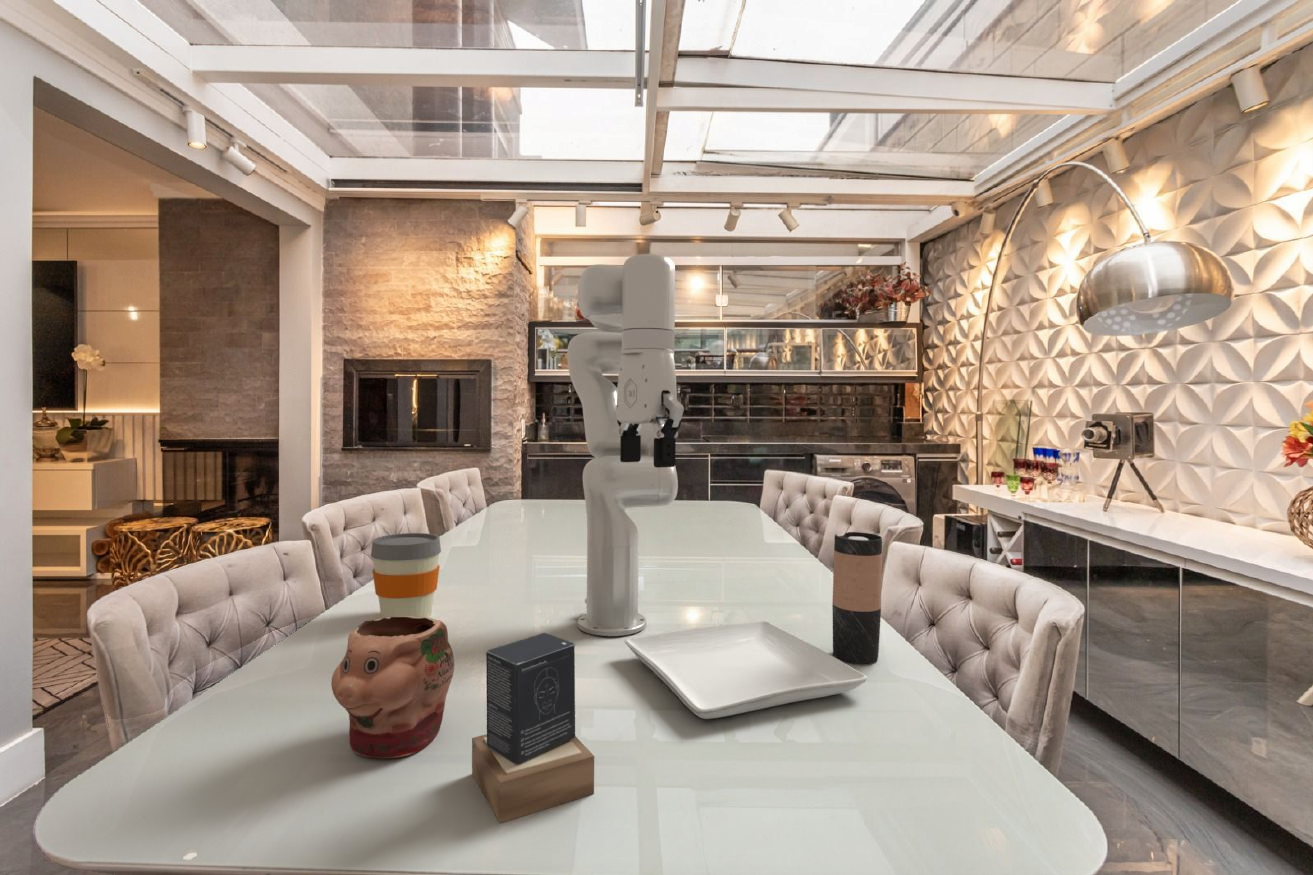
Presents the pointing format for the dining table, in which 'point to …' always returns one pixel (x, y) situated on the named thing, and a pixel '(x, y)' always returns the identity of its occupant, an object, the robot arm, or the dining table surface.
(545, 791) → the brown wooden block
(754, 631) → the square plate
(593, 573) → the robot arm
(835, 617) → the travel mug
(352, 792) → the dining table surface
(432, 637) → the decorative planter
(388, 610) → the reusable coffee cup
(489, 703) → the box
